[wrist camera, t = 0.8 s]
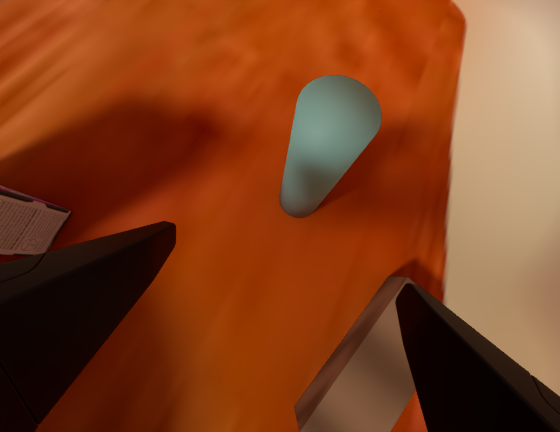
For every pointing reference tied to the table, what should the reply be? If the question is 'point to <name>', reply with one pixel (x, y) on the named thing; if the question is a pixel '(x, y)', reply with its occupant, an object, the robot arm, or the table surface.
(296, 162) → the rod
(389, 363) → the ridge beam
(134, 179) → the table surface
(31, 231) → the candy bar box
